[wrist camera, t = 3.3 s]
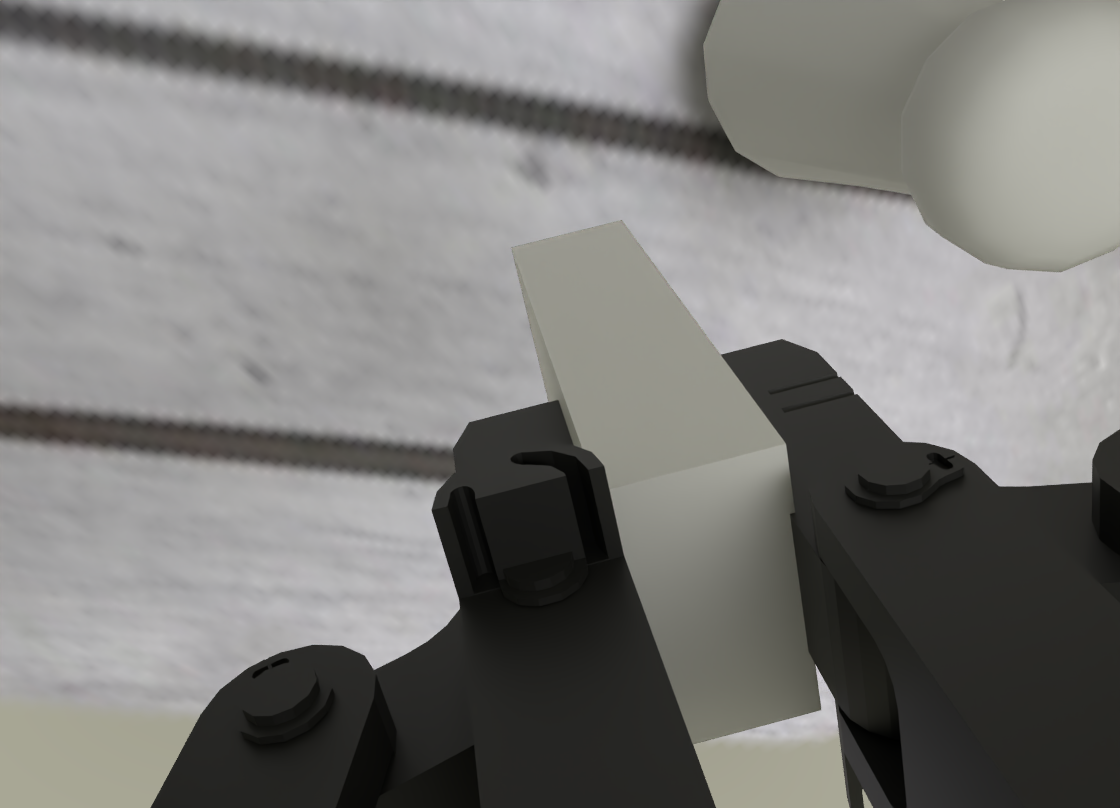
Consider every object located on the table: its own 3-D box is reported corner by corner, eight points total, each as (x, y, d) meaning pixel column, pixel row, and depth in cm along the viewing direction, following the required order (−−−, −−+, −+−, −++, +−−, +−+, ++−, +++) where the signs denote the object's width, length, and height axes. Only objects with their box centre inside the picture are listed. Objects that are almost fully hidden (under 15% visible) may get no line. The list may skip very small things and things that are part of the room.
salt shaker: (715, 191, 29) (940, 388, 17) (650, -24, 26) (861, 36, 15) (920, 108, 29) (1286, 251, 17) (874, -116, 26) (1267, -129, 14)
